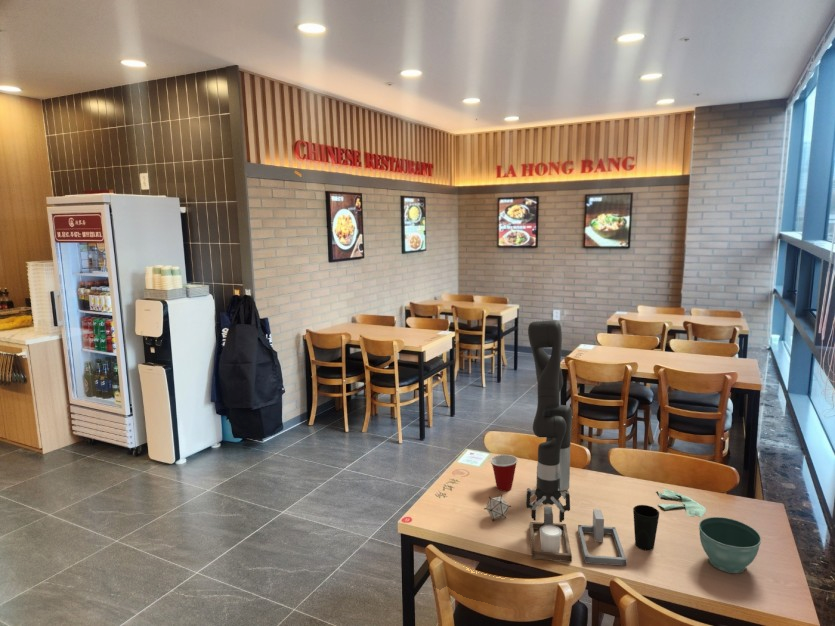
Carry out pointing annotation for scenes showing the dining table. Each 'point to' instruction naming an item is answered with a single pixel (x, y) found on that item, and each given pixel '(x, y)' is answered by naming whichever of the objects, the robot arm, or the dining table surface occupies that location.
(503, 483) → the plastic cup
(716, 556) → the green bowl
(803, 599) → the dining table surface
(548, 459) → the robot arm
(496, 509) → the game die
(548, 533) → the white cylinder
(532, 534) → the wooden picture frame
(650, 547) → the cup
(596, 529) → the grey hollow rectangular frame
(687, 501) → the cloth
